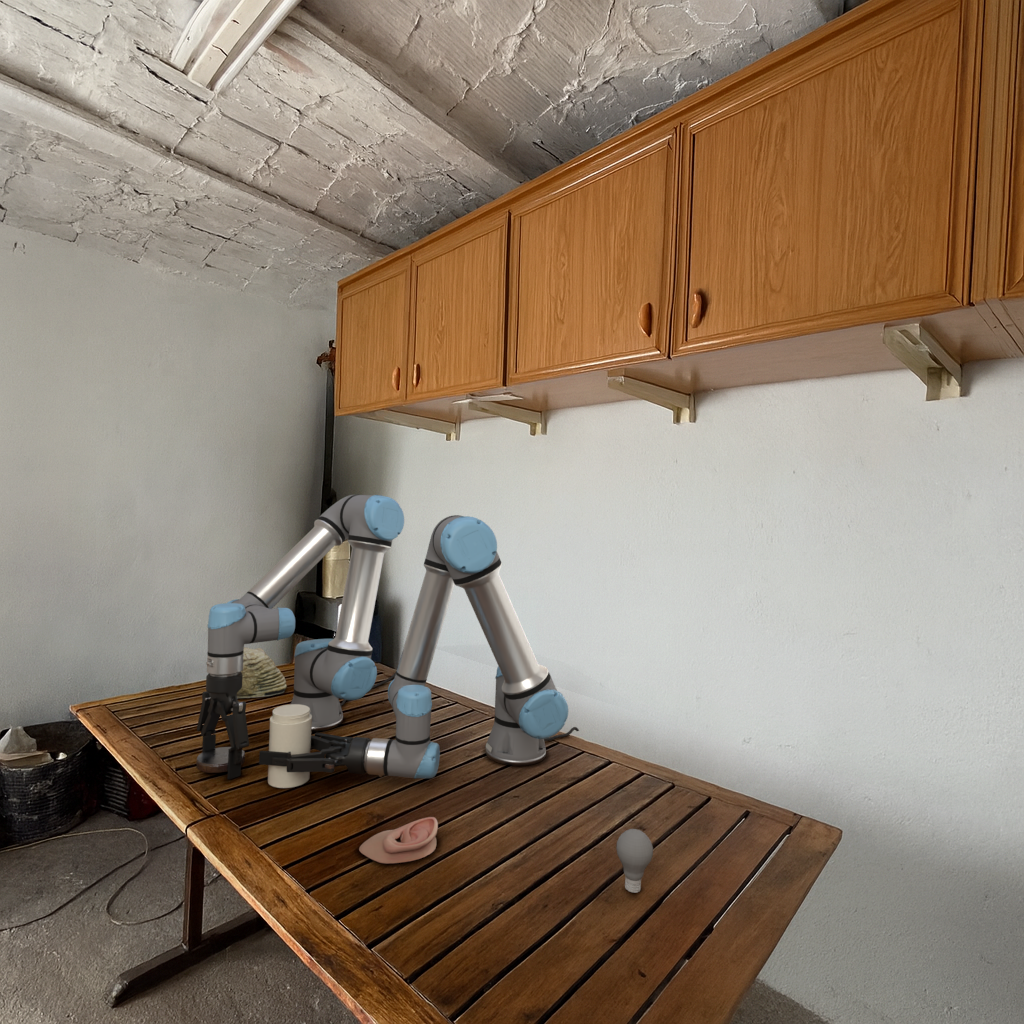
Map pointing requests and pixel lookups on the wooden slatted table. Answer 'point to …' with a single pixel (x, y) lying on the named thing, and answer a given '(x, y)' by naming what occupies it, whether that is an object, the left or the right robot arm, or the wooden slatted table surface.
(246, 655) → the fossil
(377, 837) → the anatomical model
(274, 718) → the jar
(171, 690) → the wooden slatted table surface
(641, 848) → the light bulb
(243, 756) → the lid
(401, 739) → the right robot arm
